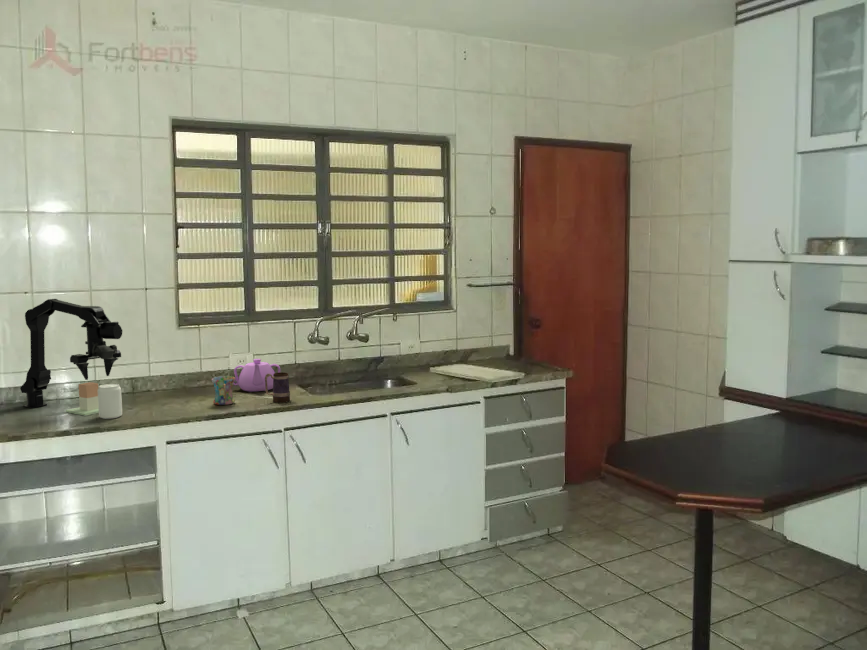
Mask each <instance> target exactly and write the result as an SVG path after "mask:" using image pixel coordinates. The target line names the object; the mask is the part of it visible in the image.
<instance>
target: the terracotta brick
mask: <svg viewBox="0 0 867 650" xmlns="http://www.w3.org/2000/svg"><path fill="white" fill-rule="evenodd" d="M98 388H99V383H97V382H92V381H89V382H85V383H78V396H79V397H83V398H91V397H96V396H98ZM79 397H78V398H79Z"/></svg>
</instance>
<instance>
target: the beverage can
mask: <svg viewBox="0 0 867 650" xmlns="http://www.w3.org/2000/svg"><path fill="white" fill-rule="evenodd" d="M122 401H123V400H122V388H121V386H120V384H119V383H108V384H106V383H105V384H101V385H98V407H99V413H98V417H99V418H100V419H104V420H109V419H111V420H112V419H116V418H117V419H118V418H120V417H121V416H122V415H123V402H122Z"/></svg>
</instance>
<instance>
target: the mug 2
mask: <svg viewBox="0 0 867 650" xmlns="http://www.w3.org/2000/svg"><path fill="white" fill-rule="evenodd" d="M269 376H271V378H273V389H272V393H269V390H268V388H267V378H268V377H269ZM289 379H290V376H289V373H288V372H283V371H280V373H278V372H275V373H274V375H273V376H272V375H271V374H267V375H266V376H265V388H266V391H265V394H266V395H268V396H272V402H273V403H277V404H280V403H282V404H283V402H285V403H288V402H290V401H291V391H290V382H289V381H290V380H289Z"/></svg>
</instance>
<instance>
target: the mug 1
mask: <svg viewBox="0 0 867 650" xmlns="http://www.w3.org/2000/svg"><path fill="white" fill-rule="evenodd" d="M235 379H236V378H235V377H234V376H230V375H228V376H227V375H223V376H222V375H220V376H215V377H212V378H211V382H212V384H213V386H214V392H215V393H214V399H213V404H215V405H216V406H217V405H218V406H227V405H231V404H234V403H235V401H236V400H235V399H234V395H233V387H234V385H233V383H234V382H235V381H234V380H235Z"/></svg>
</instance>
